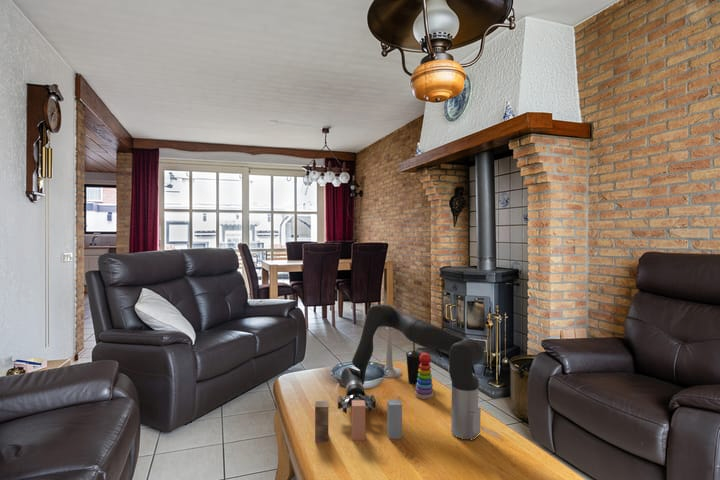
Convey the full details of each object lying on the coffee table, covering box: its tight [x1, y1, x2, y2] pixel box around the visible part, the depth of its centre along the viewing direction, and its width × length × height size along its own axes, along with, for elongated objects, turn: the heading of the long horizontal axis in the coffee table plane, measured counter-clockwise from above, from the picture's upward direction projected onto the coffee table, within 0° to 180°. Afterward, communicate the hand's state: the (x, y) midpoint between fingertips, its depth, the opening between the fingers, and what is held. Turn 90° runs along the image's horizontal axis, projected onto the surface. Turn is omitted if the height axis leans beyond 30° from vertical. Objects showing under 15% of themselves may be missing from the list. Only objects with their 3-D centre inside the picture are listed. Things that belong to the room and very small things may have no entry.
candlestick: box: [384, 326, 403, 379], centre depth 204 cm, size 13×13×30 cm
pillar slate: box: [386, 398, 403, 440], centre depth 144 cm, size 4×4×12 cm
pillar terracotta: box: [351, 400, 366, 441], centre depth 143 cm, size 4×4×12 cm
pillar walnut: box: [314, 400, 329, 443], centre depth 142 cm, size 4×4×12 cm
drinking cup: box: [405, 342, 422, 385], centre depth 192 cm, size 8×8×20 cm
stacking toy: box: [414, 352, 434, 400], centre depth 177 cm, size 8×8×19 cm
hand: (357, 410), depth 148 cm, fingers open, 8 cm apart
